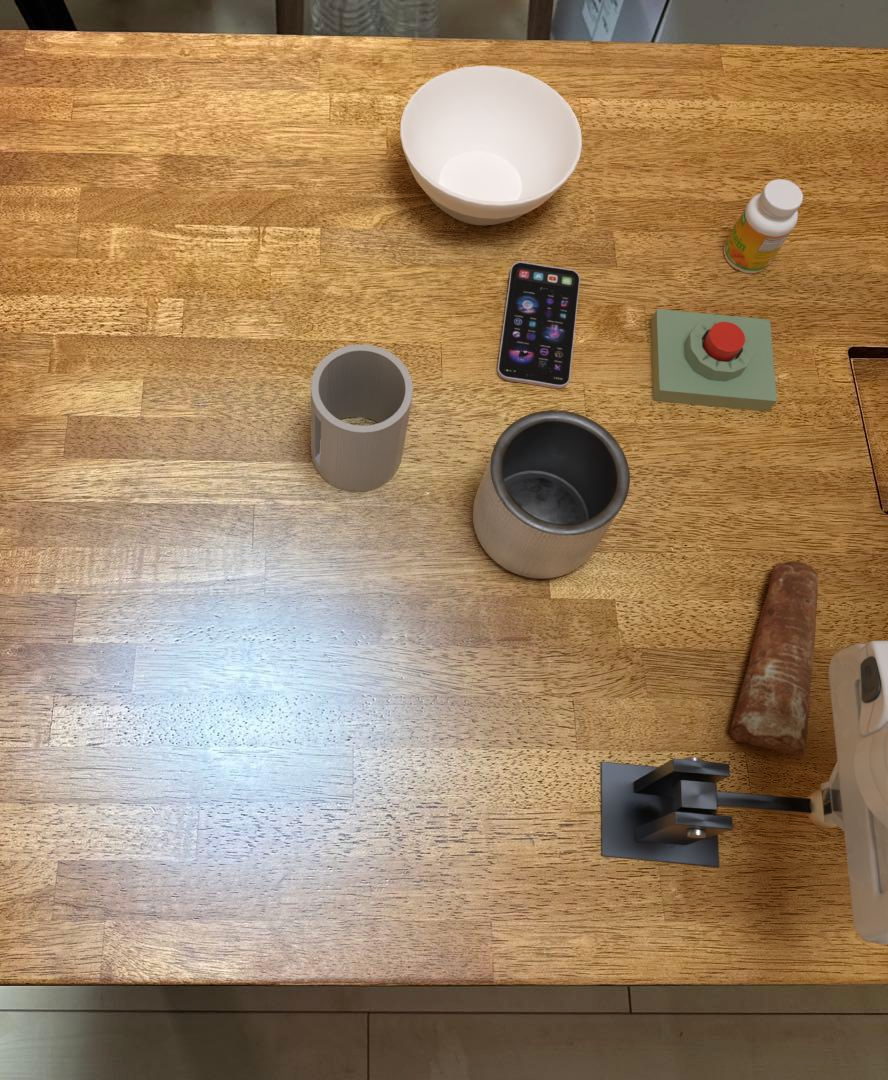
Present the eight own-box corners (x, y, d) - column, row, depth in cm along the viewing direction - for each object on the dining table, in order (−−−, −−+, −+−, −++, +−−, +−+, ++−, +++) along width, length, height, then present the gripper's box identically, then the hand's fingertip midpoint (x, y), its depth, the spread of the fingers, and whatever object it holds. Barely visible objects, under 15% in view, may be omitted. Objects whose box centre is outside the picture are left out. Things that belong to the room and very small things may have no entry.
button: (737, 333, 105) (744, 323, 103) (739, 362, 103) (746, 353, 102) (702, 329, 105) (708, 319, 103) (704, 359, 103) (710, 349, 102)
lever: (836, 793, 81) (852, 786, 78) (840, 832, 80) (856, 826, 77) (671, 779, 82) (680, 772, 79) (672, 818, 81) (682, 812, 78)
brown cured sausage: (717, 744, 91) (741, 730, 86) (763, 562, 99) (787, 539, 94) (786, 770, 91) (814, 758, 86) (827, 585, 98) (855, 563, 93)
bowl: (518, 284, 110) (533, 234, 103) (362, 210, 114) (366, 155, 106) (592, 166, 117) (612, 110, 110) (444, 99, 121) (452, 40, 113)
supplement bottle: (715, 238, 114) (750, 176, 105) (761, 232, 114) (799, 170, 105) (731, 278, 112) (767, 217, 103) (777, 271, 112) (817, 211, 103)
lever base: (709, 774, 90) (764, 747, 80) (714, 868, 87) (771, 853, 76) (597, 763, 90) (636, 735, 80) (598, 857, 87) (639, 841, 76)
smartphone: (580, 270, 111) (569, 387, 105) (579, 274, 111) (567, 390, 105) (512, 260, 111) (496, 376, 105) (511, 263, 111) (495, 379, 106)
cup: (419, 440, 103) (431, 376, 92) (370, 508, 100) (377, 450, 88) (344, 396, 104) (347, 328, 93) (293, 461, 101) (291, 398, 90)
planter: (504, 600, 96) (527, 556, 86) (450, 489, 101) (465, 434, 90) (621, 556, 98) (657, 507, 88) (563, 448, 103) (591, 390, 93)
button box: (761, 331, 109) (777, 308, 105) (768, 412, 105) (785, 391, 102) (650, 320, 109) (662, 298, 106) (652, 401, 105) (665, 380, 102)
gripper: (1010, 952, 61) (889, 955, 73) (960, 626, 69) (858, 680, 81) (905, 941, 61) (802, 947, 73) (867, 617, 69) (780, 673, 82)
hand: (831, 804), depth 78 cm, fingers closed
